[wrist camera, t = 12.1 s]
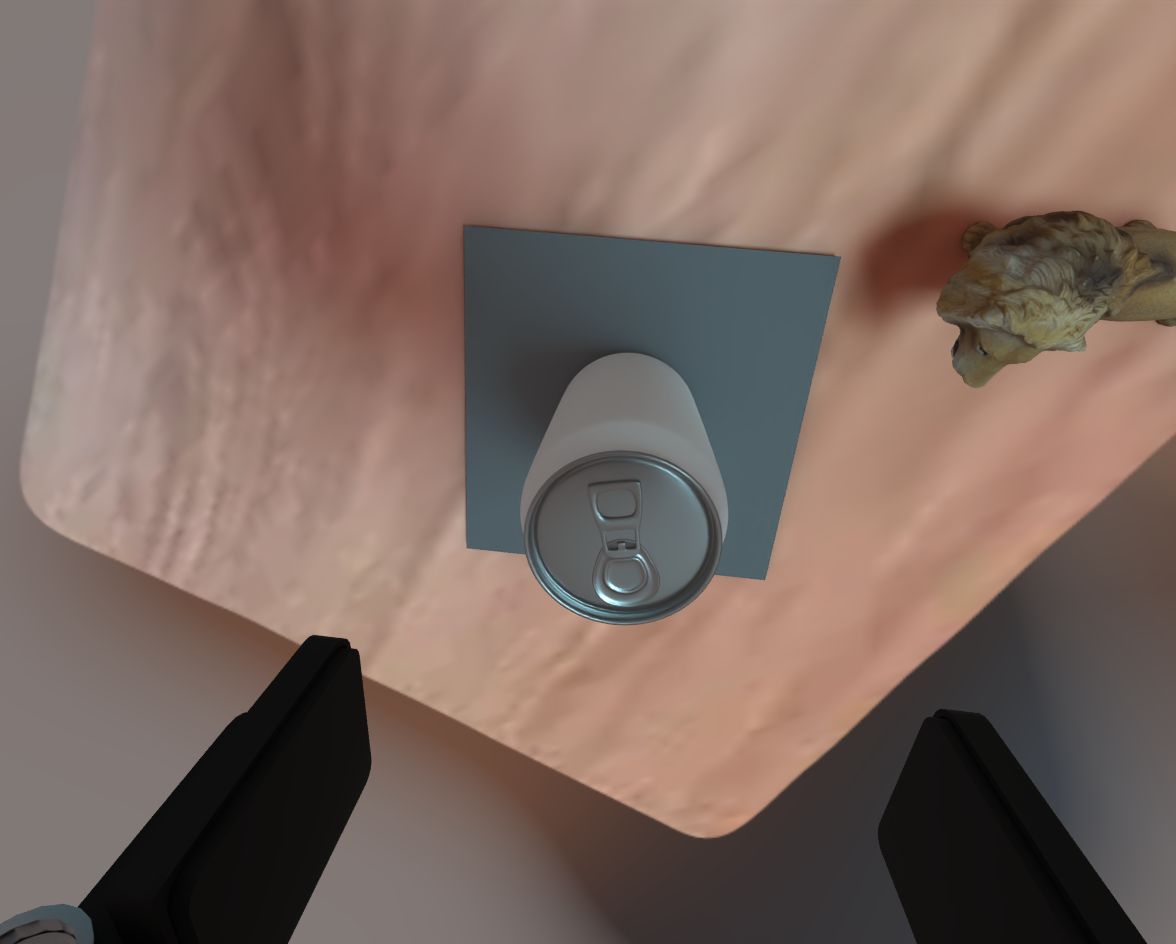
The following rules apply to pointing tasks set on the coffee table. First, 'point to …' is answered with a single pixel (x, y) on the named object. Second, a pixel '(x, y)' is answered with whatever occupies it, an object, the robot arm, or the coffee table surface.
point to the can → (624, 495)
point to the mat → (646, 326)
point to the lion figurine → (1053, 287)
